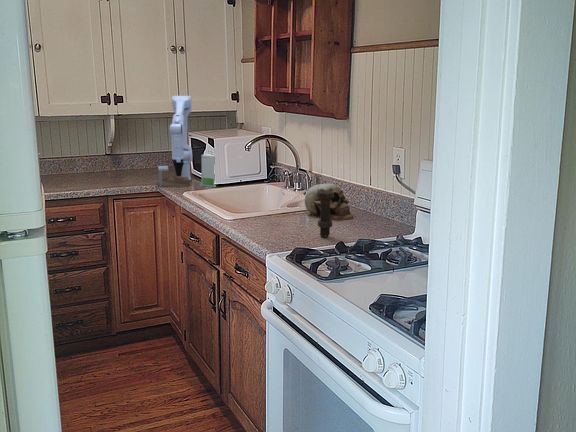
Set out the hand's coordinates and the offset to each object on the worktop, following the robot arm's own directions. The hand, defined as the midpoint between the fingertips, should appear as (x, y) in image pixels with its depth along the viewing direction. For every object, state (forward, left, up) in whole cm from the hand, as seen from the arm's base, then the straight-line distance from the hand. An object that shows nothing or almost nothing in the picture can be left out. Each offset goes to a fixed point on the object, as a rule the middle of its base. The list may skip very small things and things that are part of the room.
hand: (178, 174), depth 301 cm
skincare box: (+7, +16, -5) cm, 18 cm away
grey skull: (+87, +54, -5) cm, 102 cm away
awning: (0, -7, -5) cm, 9 cm away
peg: (0, 0, -5) cm, 5 cm away
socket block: (0, -2, -5) cm, 5 cm away
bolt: (+119, +43, -5) cm, 127 cm away
